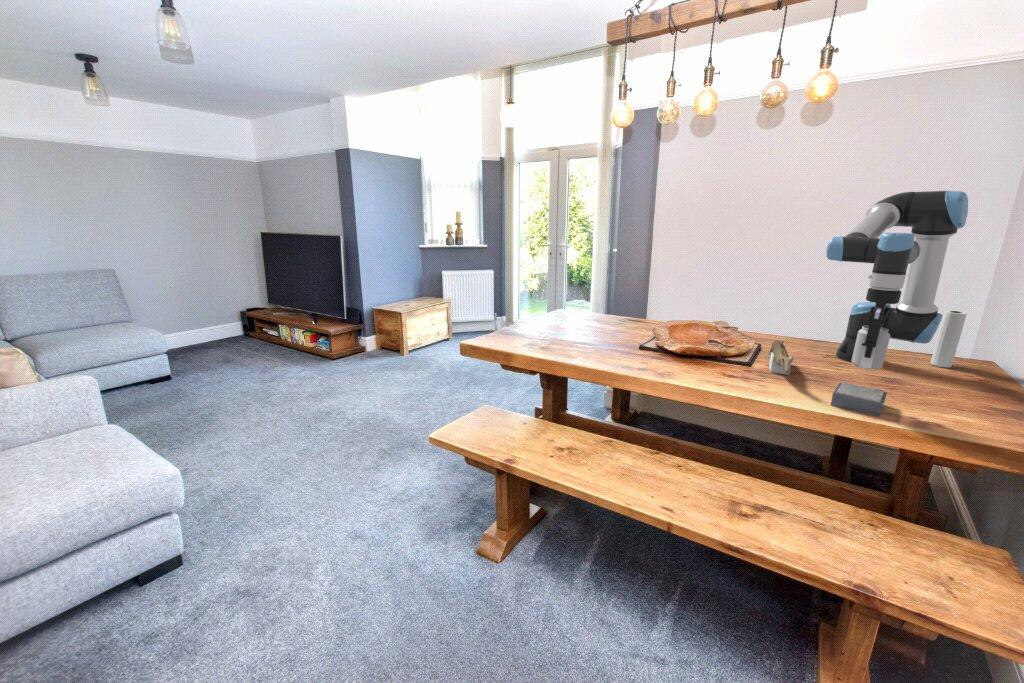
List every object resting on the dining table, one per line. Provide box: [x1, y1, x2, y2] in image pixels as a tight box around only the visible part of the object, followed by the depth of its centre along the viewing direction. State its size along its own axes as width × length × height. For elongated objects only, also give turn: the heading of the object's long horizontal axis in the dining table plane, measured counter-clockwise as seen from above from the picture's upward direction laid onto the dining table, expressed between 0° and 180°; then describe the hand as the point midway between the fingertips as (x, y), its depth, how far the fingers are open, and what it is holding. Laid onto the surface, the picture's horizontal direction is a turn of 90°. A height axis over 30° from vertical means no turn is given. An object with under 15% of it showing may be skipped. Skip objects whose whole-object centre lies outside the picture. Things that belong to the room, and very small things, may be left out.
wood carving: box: [764, 340, 794, 376], centre depth 165 cm, size 9×35×11 cm, turn 156°
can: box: [851, 326, 891, 371], centre depth 133 cm, size 8×8×12 cm
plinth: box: [830, 381, 888, 417], centre depth 138 cm, size 12×12×5 cm
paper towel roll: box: [930, 310, 968, 369], centre depth 173 cm, size 7×6×21 cm
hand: (866, 364), depth 135 cm, fingers closed on can, 7 cm apart
